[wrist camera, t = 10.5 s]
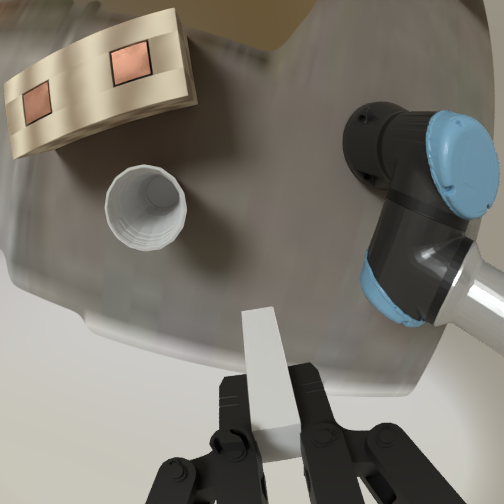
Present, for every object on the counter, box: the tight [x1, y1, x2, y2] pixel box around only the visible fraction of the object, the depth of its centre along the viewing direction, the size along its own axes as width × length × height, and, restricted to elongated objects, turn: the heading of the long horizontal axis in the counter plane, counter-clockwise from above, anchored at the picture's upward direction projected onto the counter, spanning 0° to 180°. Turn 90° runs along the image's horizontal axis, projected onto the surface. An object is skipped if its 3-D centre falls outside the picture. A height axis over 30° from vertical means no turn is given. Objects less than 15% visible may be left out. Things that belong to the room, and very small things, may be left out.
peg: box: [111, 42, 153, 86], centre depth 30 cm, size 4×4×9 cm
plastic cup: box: [105, 164, 187, 251], centre depth 38 cm, size 11×11×12 cm
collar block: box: [4, 8, 198, 160], centre depth 31 cm, size 26×12×12 cm, turn 99°
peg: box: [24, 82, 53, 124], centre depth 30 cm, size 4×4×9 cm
